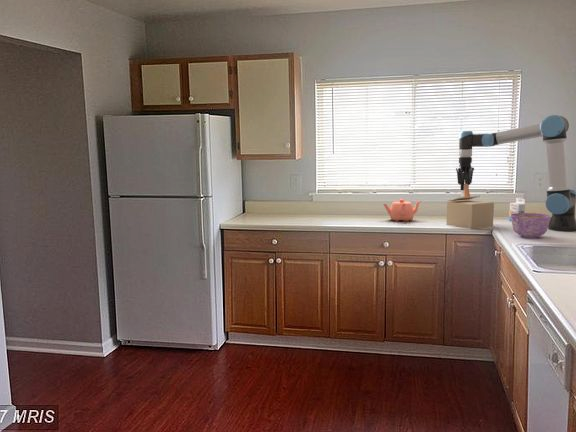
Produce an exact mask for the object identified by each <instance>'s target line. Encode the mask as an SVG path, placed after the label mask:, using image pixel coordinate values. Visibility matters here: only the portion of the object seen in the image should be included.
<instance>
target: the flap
mask: <svg viewBox="0 0 576 432" xmlns="http://www.w3.org/2000/svg"><path fill="white" fill-rule="evenodd" d="M464 185H465V196H461V197H455V198H451V199H449V200H447V202H452V201H464V200H473V199H476V198H480V197H481V196H480V195H476V196H471V193H470V187H469V188H468V184H465V183H464Z"/></svg>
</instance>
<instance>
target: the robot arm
mask: <svg viewBox="0 0 576 432" xmlns="http://www.w3.org/2000/svg"><path fill="white" fill-rule="evenodd" d="M569 127H570V124H569V120H568V119H567V118H566V117H565V116H562V115H557V114H552V115H548V116H546V117H544V118H543V120H541V122H540V123H536V124H533V125H532V124H531V125H527V126H522V127H518V128H512V129H507V130H503V131H498V132H492V133H474V132H473V131H472V130H463V131H460V132H459V138H458V141H459V142H458V143H459V144H458V145H459V148H458V164H459V165H458V167H456V168H455V171H456V176H457V184H458V185H459V186H460V196H461V197H464V196H465V185H464V184H468V188H469V189H470V185H471V184H472V183H473V176H474V175H473V174H474V171H475V167H473V166H472V162H473V158H472V156H473V147H474V148H476V147H477V148H478V147H479V148H480V147H483V148H484V147H485V148H489V147H490V148H491V147H495V146H500V145H504V144H509V143H510V144H511V143H515V142H520V141H524V140H531V139H536V138H541V137H542V142H543V143H544V144H545V146H546V158H547V160H546V161H547V173H548V186H549V187H548V188H547V189H546V199H545V203H544V204H545V208H546V209H547V211H548V212H549V213H551V220H550V223H549V226H548V229H547V230H551V231H558V232H576V190H575V189H571V188H570V187H568V186H567V173H566V172H567V171H566V159H565V141H566V140H567V132H568V131H569V129H570V128H569Z"/></svg>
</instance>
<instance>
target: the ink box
mask: <svg viewBox="0 0 576 432" xmlns="http://www.w3.org/2000/svg"><path fill="white" fill-rule="evenodd" d="M525 204H526V199H525V198H522V197H521V198H520V197H516V198H515V202H509V212H508V213H509V214H508V215H509V217H508V218H509V219H508V221H509V222H512V221H511V216H510V215H511V214H514V213H526V212H525V209H526V205H525Z"/></svg>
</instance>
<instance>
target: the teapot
mask: <svg viewBox="0 0 576 432" xmlns="http://www.w3.org/2000/svg"><path fill="white" fill-rule="evenodd" d="M421 202H422V200H418V201H417V202H416V203H415V206H414V208H413V204H412V202H411V201H405V199H404V198H403V199H402V198H400V199H399V200H398V201H392V203H391V206H390V207H389V205H388V204H387V203H384V204H383V207H384V208H385V209H386V212H387V213H388V215H389V217H390V219H391V220H393V221H394V222H397V223H398V222H400V221H405V223H406V222H410V221H412V220H413V219H414V217H415V214H416V213H417V212H418V210H419V205H420V203H421Z"/></svg>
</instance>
